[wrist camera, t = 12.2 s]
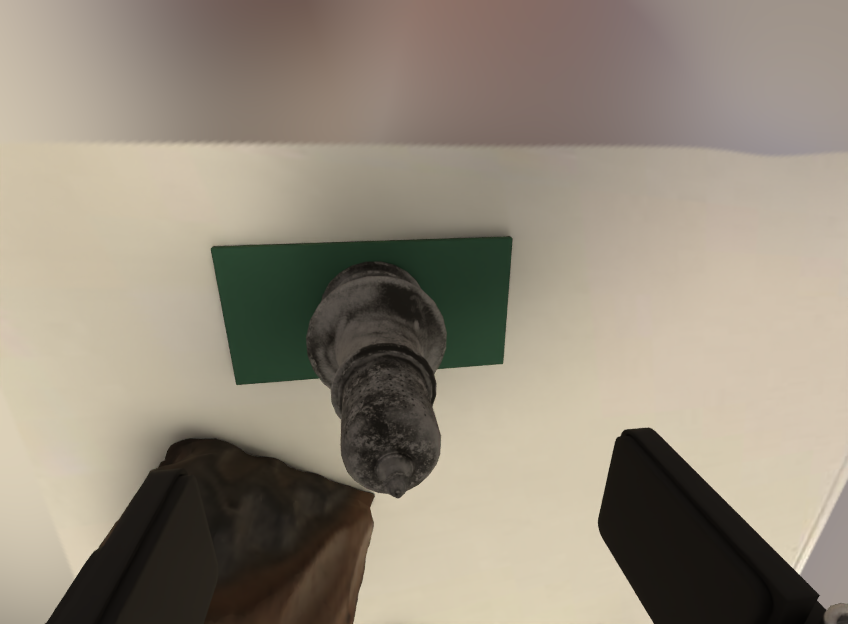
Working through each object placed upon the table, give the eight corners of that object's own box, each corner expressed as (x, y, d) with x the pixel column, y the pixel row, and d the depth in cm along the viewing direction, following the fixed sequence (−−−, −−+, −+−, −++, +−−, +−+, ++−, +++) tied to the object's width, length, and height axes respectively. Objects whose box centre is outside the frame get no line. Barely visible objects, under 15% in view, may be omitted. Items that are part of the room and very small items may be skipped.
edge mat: (237, 381, 22) (236, 385, 21) (212, 246, 19) (210, 248, 19) (501, 360, 24) (503, 364, 23) (510, 236, 21) (513, 237, 21)
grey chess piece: (326, 374, 22) (299, 607, 11) (301, 264, 20) (236, 416, 9) (437, 355, 22) (519, 557, 11) (426, 246, 20) (514, 367, 9)
